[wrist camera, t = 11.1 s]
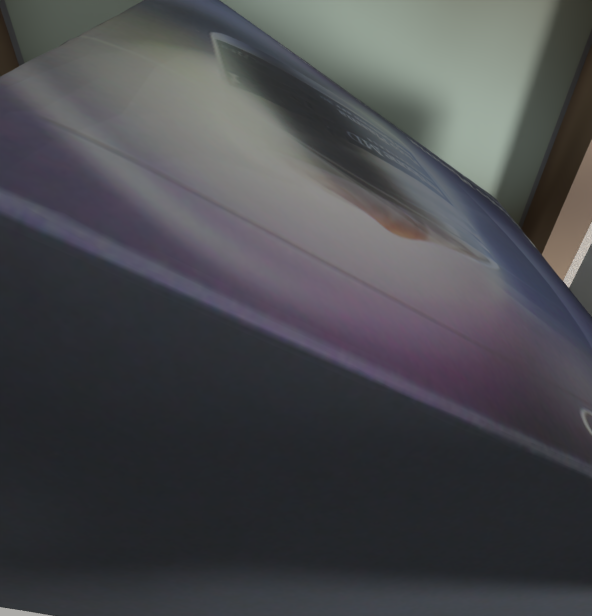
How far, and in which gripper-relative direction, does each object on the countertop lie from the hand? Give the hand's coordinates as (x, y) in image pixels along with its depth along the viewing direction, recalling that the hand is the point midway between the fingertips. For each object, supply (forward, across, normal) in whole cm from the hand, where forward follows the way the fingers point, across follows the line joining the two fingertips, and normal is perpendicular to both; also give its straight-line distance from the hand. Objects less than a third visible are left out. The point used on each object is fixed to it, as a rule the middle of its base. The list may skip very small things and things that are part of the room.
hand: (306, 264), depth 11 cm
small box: (+4, 0, 0) cm, 4 cm away
